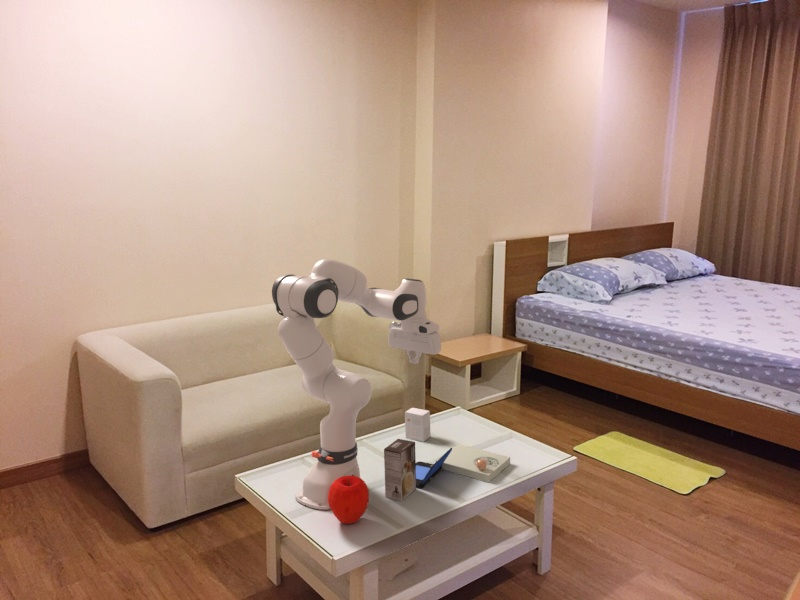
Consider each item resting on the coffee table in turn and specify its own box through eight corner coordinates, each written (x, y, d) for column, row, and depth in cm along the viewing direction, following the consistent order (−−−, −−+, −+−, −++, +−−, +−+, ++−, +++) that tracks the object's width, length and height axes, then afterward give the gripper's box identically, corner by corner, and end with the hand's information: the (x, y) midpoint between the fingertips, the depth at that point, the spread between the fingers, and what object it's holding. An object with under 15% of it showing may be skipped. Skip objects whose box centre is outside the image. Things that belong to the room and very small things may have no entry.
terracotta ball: (483, 472, 208) (483, 462, 207) (474, 470, 210) (474, 460, 209) (488, 468, 211) (488, 458, 210) (479, 466, 213) (479, 456, 212)
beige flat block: (488, 482, 206) (488, 475, 206) (435, 467, 218) (435, 460, 217) (510, 463, 219) (510, 457, 219) (459, 450, 230) (459, 444, 230)
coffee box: (399, 484, 206) (398, 437, 203) (416, 488, 203) (416, 441, 200) (384, 497, 198) (383, 448, 195) (402, 501, 195) (401, 452, 192)
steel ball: (488, 469, 213) (484, 459, 213) (480, 471, 215) (476, 462, 215) (493, 466, 216) (489, 456, 216) (485, 468, 218) (481, 458, 218)
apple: (341, 537, 177) (340, 492, 174) (321, 519, 186) (319, 476, 183) (377, 523, 183) (376, 480, 181) (355, 506, 193) (354, 465, 190)
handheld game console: (418, 464, 221) (417, 439, 219) (453, 472, 214) (453, 446, 213) (396, 483, 207) (395, 457, 205) (433, 492, 201) (433, 465, 199)
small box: (430, 437, 243) (430, 410, 241) (423, 442, 238) (423, 415, 236) (412, 432, 247) (412, 406, 245) (405, 437, 242) (404, 411, 240)
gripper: (383, 322, 225) (384, 360, 227) (433, 329, 213) (433, 369, 216) (394, 319, 230) (395, 356, 232) (443, 326, 218) (443, 365, 221)
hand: (414, 362), depth 224 cm, fingers closed
